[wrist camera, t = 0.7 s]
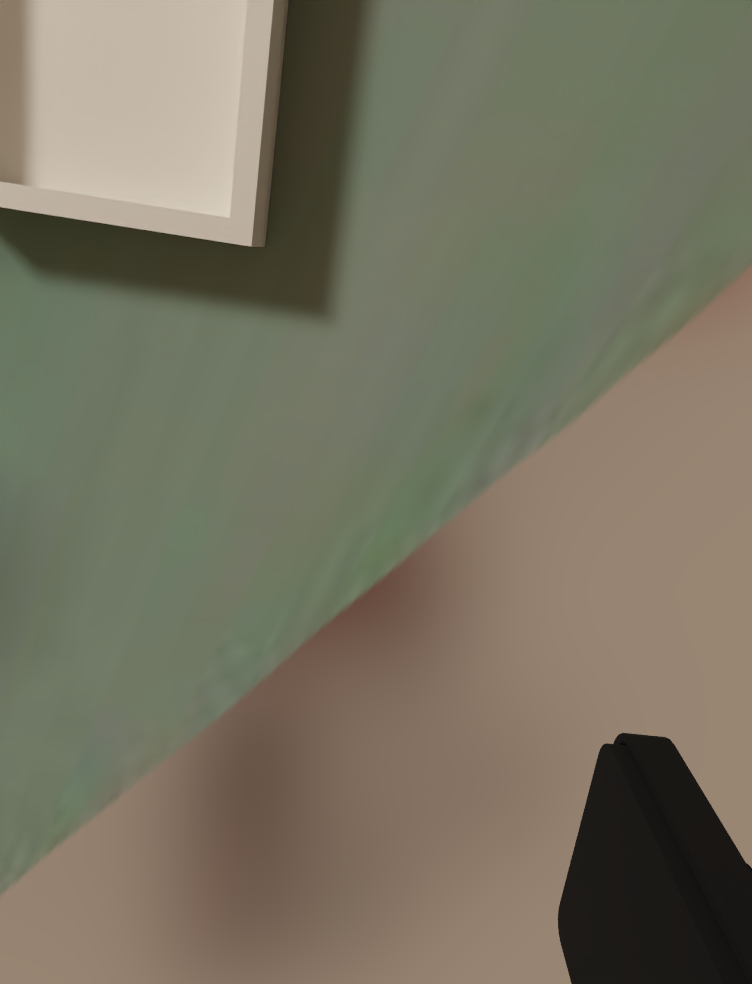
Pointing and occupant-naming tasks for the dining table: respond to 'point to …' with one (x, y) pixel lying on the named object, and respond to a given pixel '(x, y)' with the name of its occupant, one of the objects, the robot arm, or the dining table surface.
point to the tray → (142, 112)
